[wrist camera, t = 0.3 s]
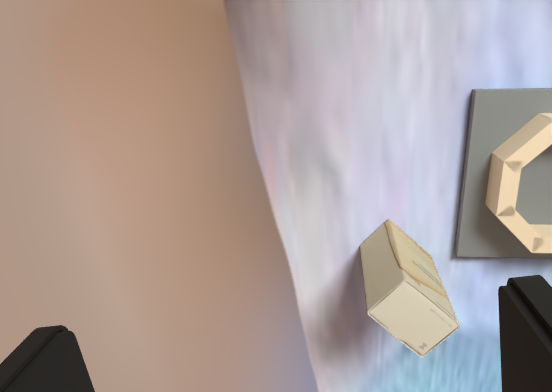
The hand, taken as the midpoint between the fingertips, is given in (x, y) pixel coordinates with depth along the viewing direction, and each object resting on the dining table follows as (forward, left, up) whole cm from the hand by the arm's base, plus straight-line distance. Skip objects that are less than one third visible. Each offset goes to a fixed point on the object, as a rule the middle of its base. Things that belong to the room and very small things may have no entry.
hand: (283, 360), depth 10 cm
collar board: (+7, +22, -36) cm, 43 cm away
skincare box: (+15, +8, -36) cm, 40 cm away
